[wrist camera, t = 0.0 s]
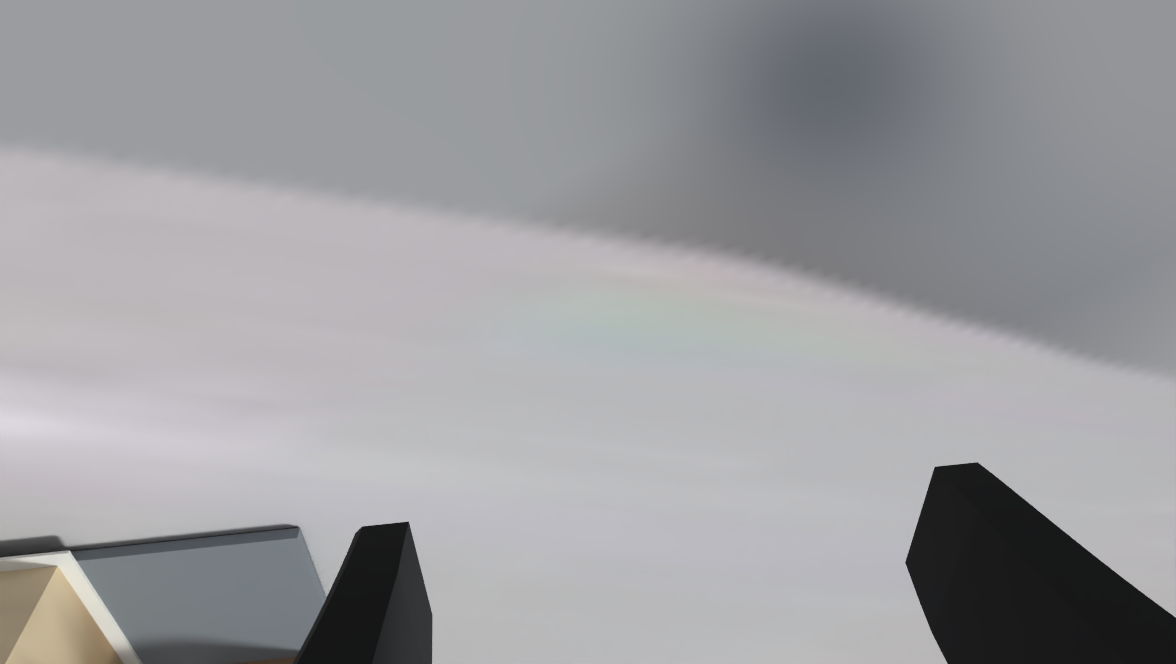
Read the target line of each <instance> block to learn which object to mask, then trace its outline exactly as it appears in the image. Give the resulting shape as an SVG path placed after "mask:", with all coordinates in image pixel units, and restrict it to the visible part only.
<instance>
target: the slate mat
mask: <svg viewBox="0 0 1176 664" xmlns="http://www.w3.org/2000/svg"><path fill="white" fill-rule="evenodd" d="M51 566H58V567H59V568H60V570H61V571H62V573H63V574H64V576H65V577H66V579H67V580H68V582H69V583H70V585H71V586H72V588H73V589H74V591H75V592H76V594H77V595H78V597H79V598H80V600H81V601H82V603H83V604H84V605H85V607H86V608H87V610H88V611H89V613H90V614H91V616H92V617H93V619H94V620H95V622H96V623H97V625H98V626H99V628H100V629H101V631H102V632H103V634H104V635H105V637H106V638H107V640H108V641H109V643H110V644H111V646H112V647H113V649H114V650H115V652H116V653H117V655H118V656H119V657H120V659H121V660H122V662H123V663H124V664H234V663H243V662H252V661H260V660H269V659H278V658H287V657H295V656H297V654H298V653H299V651H300V649H301V647H302V645H303V643H304V641H305V640H306V638H307V636H308V634H309V632H310V630H311V628H312V626H313V624H314V622H315V620H316V618H317V616H318V614H319V612H320V610H321V608H322V606H323V604H324V602H325V600H326V596H325V593H324V591H323V588H322V585H321V583H320V580H319V577H318V575H317V572H316V569H315V567H314V564H313V561H312V559H311V556H310V553H309V551H308V548H307V545H306V543H305V540H304V537H303V535H302V532H301V529H300V528H292V529H283V530H273V531H264V532H254V533H244V534H235V535H225V536H216V537H206V538H197V539H187V540H177V541H168V542H158V543H149V544H139V545H130V546H120V547H110V548H101V549H91V550H82V551H72V552H70V550H68V551H58V552H49V553H39V554H30V555H20V556H11V557H1V558H0V572H3V571H13V570H22V569H32V568H41V567H51Z"/></svg>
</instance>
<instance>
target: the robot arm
mask: <svg viewBox="0 0 1176 664" xmlns="http://www.w3.org/2000/svg"><path fill="white" fill-rule="evenodd" d="M905 563H906V565H907V568H908V571H909V574H910V576H911V579H912V582H913V585H914V587H915V590H916V593H917V596H918V598H919V601H920V604H921V606H922V609H923V611H924V614H925V616H926V619H927V621H928V624H929V626H930V629H931V631H932V634H933V636H934V638H935V640H936V642H937V644H938V645H939V647H940V649H941V651H942V653H943V655H944V657H945V659H946V661H947V663H948V664H1176V618H1175V617H1174V616H1173V615H1171V614H1170V613H1168V612H1167V611H1166V610H1164V609H1163V608H1162V607H1160V606H1159V605H1158V604H1156V603H1155V602H1154V601H1152V600H1151V599H1150V598H1148V597H1147V596H1146V595H1144V594H1143V593H1142V592H1140V591H1139V590H1138V589H1136V588H1135V587H1134V586H1132V585H1131V584H1130V583H1128V582H1127V581H1126V580H1125V579H1123V578H1122V577H1121V576H1119V575H1118V574H1117V573H1116V572H1114V571H1113V570H1112V569H1110V568H1109V567H1108V566H1107V565H1105V564H1104V563H1103V562H1101V561H1100V560H1099V559H1098V558H1096V557H1095V556H1094V555H1093V554H1091V553H1090V552H1089V551H1087V550H1086V549H1085V548H1084V547H1082V546H1081V545H1080V544H1079V543H1077V542H1076V541H1075V540H1074V539H1072V538H1071V537H1070V536H1069V535H1067V534H1066V533H1065V532H1064V531H1062V530H1061V529H1060V528H1059V527H1057V526H1056V525H1055V524H1054V523H1053V522H1051V521H1050V520H1049V519H1048V518H1046V517H1045V516H1044V515H1043V514H1041V513H1040V512H1039V511H1038V510H1036V509H1035V508H1034V507H1033V506H1032V505H1030V504H1029V503H1028V502H1027V501H1025V500H1024V499H1023V498H1022V497H1020V496H1019V495H1018V494H1017V493H1015V492H1014V491H1013V490H1012V489H1011V488H1009V487H1008V486H1007V485H1006V484H1004V483H1003V482H1002V481H1001V480H999V479H998V478H997V477H996V476H994V475H993V474H992V473H990V472H989V471H988V470H987V469H985V468H984V467H983V466H981V465H980V464H979V463H978V462H977V463H968V464H958V465H949V466H939V467H935V468H934V471H933V475H932V478H931V481H930V484H929V488H928V491H927V494H926V497H925V501H924V504H923V507H922V510H921V514H920V517H919V520H918V523H917V527H916V530H915V533H914V536H913V540H912V543H911V546H910V549H909V553H908V556H907V559H906V562H905ZM293 664H432V612H431V608H430V604H429V600H428V596H427V592H426V588H425V584H424V580H423V576H422V572H421V569H420V565H419V561H418V557H417V553H416V549H415V545H414V541H413V537H412V533H411V529H410V525H409V522H402V523H392V524H383V525H373V526H364V527H362V528H360V529H359V530H358V531H357V532H356V533H355V536H354V538H353V540H352V543H351V545H350V548H349V550H348V552H347V555H346V557H345V559H344V561H343V564H342V566H341V568H340V570H339V573H338V575H337V577H336V579H335V581H334V583H333V586H332V588H331V590H330V592H329V594H328V596H327V598H326V600H325V602H324V604H323V606H322V608H321V610H320V612H319V614H318V616H317V618H316V620H315V622H314V624H313V626H312V628H311V630H310V632H309V634H308V636H307V638H306V640H305V641H304V643H303V645H302V647H301V649H300V651H299V653H298V654H297V656H296V658H295V660H294V662H293Z"/></svg>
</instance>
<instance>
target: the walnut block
mask: <svg viewBox="0 0 1176 664" xmlns="http://www.w3.org/2000/svg"><path fill="white" fill-rule="evenodd" d="M295 658H296V656H295V657H287V658H278V659H269V660H260V661H252V662H243V663H234V664H293V662H294V660H295Z"/></svg>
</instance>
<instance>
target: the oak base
mask: <svg viewBox="0 0 1176 664" xmlns="http://www.w3.org/2000/svg"><path fill="white" fill-rule="evenodd" d="M0 664H124V663H123V662H122V660H121V659H120V657H119V656H118V655H117V653H116V652H115V650H114V649H113V647H112V646H111V644H110V643H109V641H108V640H107V638H106V637H105V635H104V634H103V632H102V631H101V629H100V628H99V626H98V625H97V623H96V622H95V620H94V619H93V617H92V616H91V614H90V613H89V611H88V610H87V608H86V607H85V605H84V604H83V603H82V601H81V600H80V598H79V597H78V595H77V594H76V592H75V591H74V589H73V588H72V586H71V585H70V583H69V582H68V580H67V579H66V577H65V576H64V574H63V573H62V571H61V570H60V568H59V567H58V566H51V567H41V568H32V569H22V570H13V571H3V572H0Z"/></svg>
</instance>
